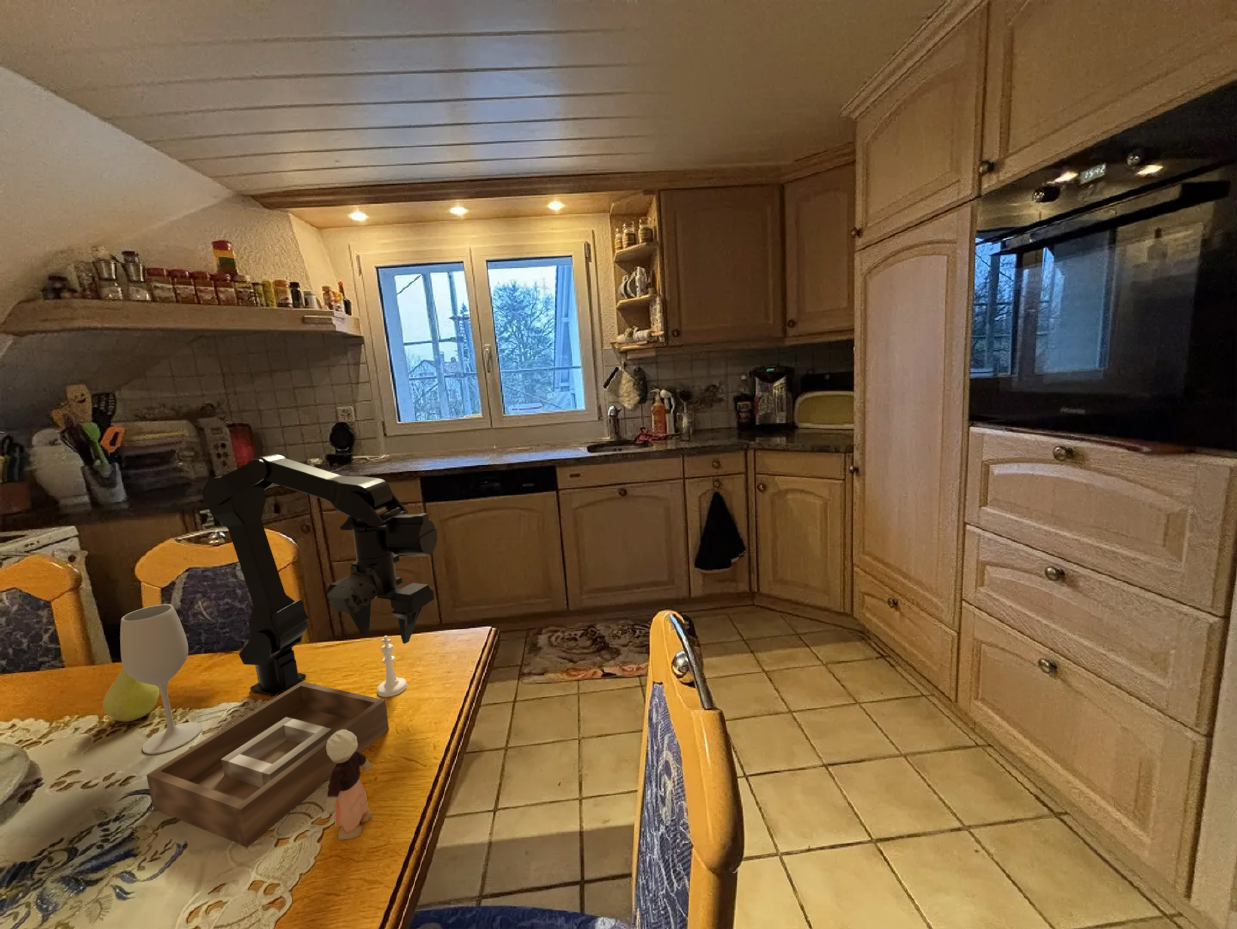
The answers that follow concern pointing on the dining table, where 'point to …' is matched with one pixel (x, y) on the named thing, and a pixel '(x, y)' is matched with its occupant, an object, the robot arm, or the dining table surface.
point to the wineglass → (157, 665)
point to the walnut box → (264, 761)
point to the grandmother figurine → (347, 785)
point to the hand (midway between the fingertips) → (385, 639)
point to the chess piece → (390, 673)
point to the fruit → (129, 698)
